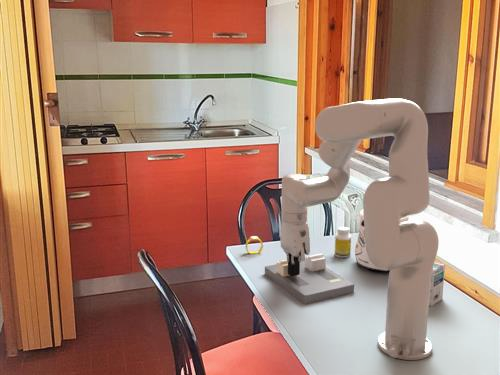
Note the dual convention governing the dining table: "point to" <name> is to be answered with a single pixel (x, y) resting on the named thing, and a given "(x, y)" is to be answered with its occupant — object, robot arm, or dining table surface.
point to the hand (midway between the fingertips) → (293, 274)
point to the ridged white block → (315, 262)
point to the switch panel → (311, 283)
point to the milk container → (361, 245)
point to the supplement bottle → (343, 242)
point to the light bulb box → (436, 283)
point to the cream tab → (282, 268)
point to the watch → (254, 239)
